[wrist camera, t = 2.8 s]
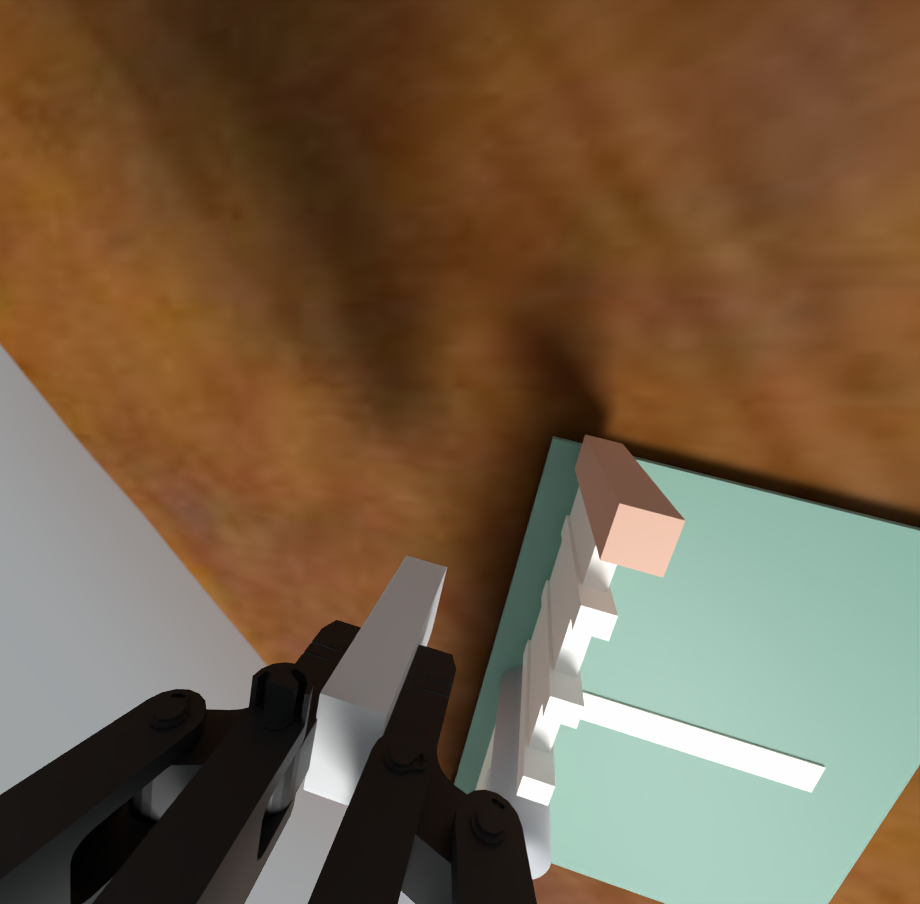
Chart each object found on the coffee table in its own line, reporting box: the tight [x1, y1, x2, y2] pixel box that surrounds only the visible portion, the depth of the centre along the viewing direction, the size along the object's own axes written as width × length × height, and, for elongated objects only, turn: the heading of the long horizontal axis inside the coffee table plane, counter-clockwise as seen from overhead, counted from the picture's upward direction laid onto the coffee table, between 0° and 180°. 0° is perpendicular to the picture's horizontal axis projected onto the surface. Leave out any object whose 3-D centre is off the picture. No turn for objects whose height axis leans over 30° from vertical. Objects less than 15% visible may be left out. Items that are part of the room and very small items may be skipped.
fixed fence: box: [483, 666, 551, 879], centre depth 21 cm, size 13×2×8 cm, turn 168°
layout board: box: [454, 436, 920, 904], centre depth 22 cm, size 24×20×1 cm
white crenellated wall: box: [516, 434, 685, 806], centre depth 17 cm, size 12×2×8 cm, turn 168°
